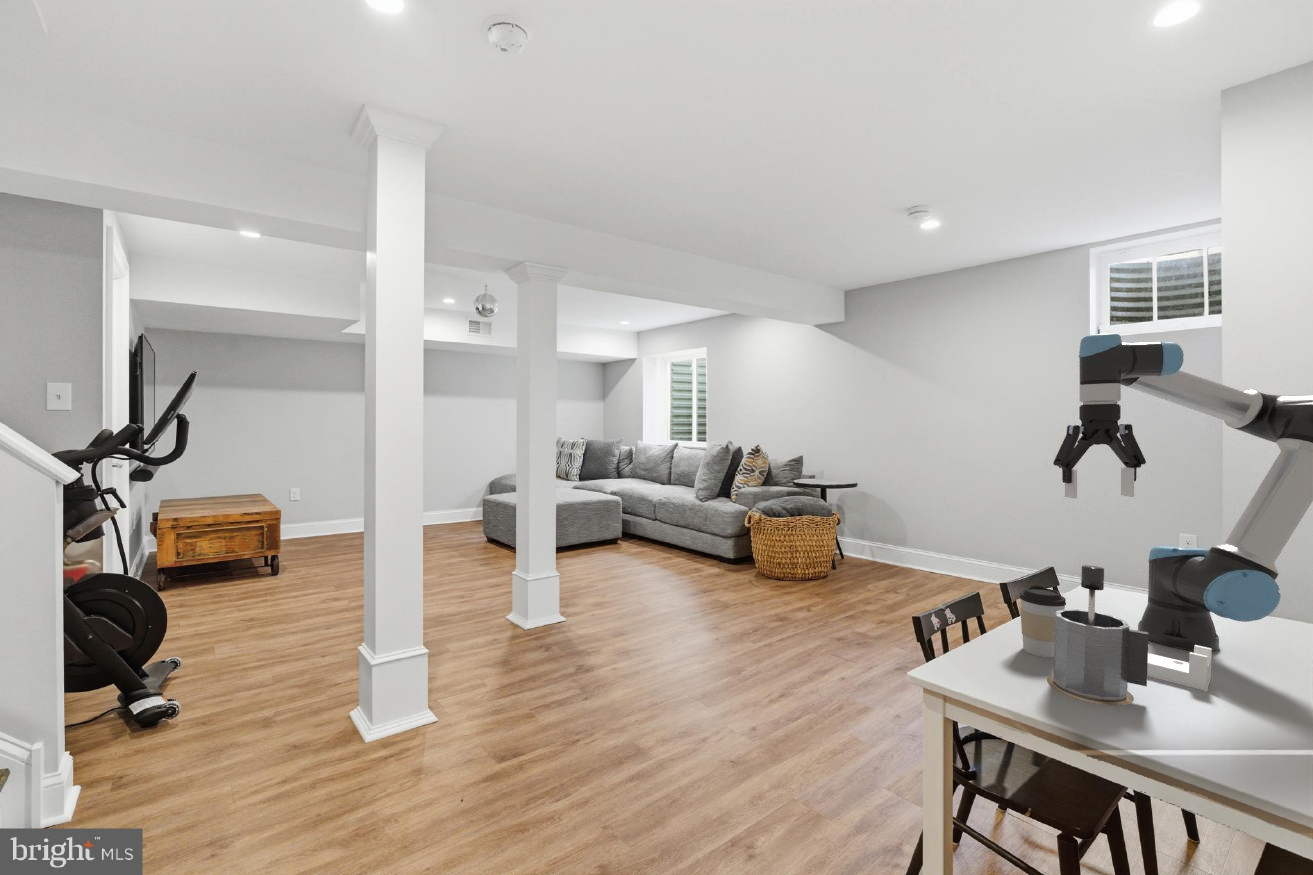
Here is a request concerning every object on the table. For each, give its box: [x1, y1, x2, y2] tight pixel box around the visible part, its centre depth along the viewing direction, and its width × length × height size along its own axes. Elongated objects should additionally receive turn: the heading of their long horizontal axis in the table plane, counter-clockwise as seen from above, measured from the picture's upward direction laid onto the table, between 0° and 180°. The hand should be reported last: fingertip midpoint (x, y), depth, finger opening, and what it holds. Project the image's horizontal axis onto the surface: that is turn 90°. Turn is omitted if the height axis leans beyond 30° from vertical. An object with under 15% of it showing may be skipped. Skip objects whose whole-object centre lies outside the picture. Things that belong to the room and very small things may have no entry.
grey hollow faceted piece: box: [1053, 608, 1149, 702], centre depth 119 cm, size 13×12×14 cm
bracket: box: [1147, 645, 1213, 693], centre depth 126 cm, size 13×7×8 cm, turn 41°
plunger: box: [1080, 564, 1105, 626], centre depth 119 cm, size 8×8×20 cm
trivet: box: [1046, 674, 1135, 706], centre depth 119 cm, size 14×14×1 cm
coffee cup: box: [1019, 585, 1067, 658], centre depth 138 cm, size 9×9×15 cm
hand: (1099, 497), depth 137 cm, fingers open, 13 cm apart
